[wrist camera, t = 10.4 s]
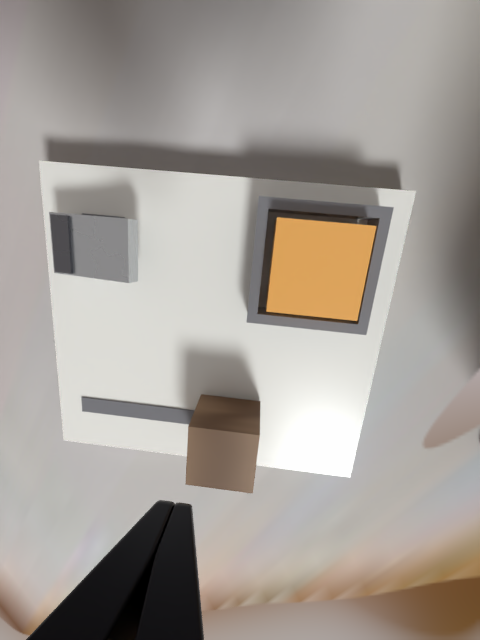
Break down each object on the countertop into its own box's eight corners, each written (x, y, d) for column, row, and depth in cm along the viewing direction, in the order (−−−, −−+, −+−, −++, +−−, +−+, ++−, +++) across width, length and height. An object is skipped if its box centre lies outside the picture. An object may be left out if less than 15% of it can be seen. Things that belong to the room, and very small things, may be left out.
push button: (358, 227, 15) (376, 225, 13) (343, 309, 16) (357, 321, 14) (275, 220, 15) (277, 217, 13) (265, 301, 16) (266, 311, 14)
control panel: (402, 195, 16) (434, 185, 13) (344, 460, 20) (357, 498, 17) (58, 167, 17) (13, 152, 14) (77, 426, 21) (46, 457, 18)
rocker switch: (137, 219, 14) (125, 218, 14) (138, 281, 15) (126, 283, 14) (62, 213, 15) (46, 211, 15) (66, 271, 16) (51, 273, 15)
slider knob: (260, 401, 18) (259, 435, 15) (254, 451, 19) (252, 493, 16) (201, 394, 18) (188, 426, 15) (198, 444, 19) (185, 484, 16)
